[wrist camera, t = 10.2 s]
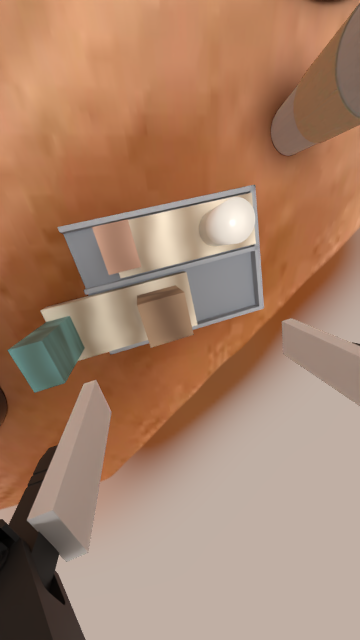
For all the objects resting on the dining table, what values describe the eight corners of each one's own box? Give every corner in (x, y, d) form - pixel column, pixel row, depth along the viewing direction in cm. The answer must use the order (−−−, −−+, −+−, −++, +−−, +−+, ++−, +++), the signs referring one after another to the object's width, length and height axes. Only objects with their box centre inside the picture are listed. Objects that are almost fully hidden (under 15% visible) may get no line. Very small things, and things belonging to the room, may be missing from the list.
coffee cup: (306, 176, 29) (463, 104, 15) (251, 161, 27) (375, 59, 13) (328, 96, 26) (545, -85, 12) (268, 71, 24) (450, -184, 10)
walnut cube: (148, 331, 28) (150, 347, 23) (137, 295, 26) (136, 305, 21) (183, 320, 29) (193, 334, 24) (175, 285, 27) (184, 292, 22)
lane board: (112, 348, 31) (110, 354, 29) (63, 229, 25) (57, 227, 23) (257, 305, 34) (263, 308, 32) (247, 189, 28) (255, 184, 26)
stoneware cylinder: (202, 249, 26) (219, 248, 21) (195, 214, 25) (213, 201, 19) (231, 242, 27) (256, 238, 21) (227, 206, 25) (253, 193, 20)
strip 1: (121, 276, 27) (113, 287, 18) (105, 227, 25) (86, 210, 15) (248, 244, 29) (299, 239, 20) (244, 196, 27) (299, 166, 18)
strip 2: (72, 357, 29) (42, 404, 20) (47, 306, 26) (-3, 334, 17) (194, 320, 31) (217, 348, 22) (183, 271, 28) (205, 278, 19)
